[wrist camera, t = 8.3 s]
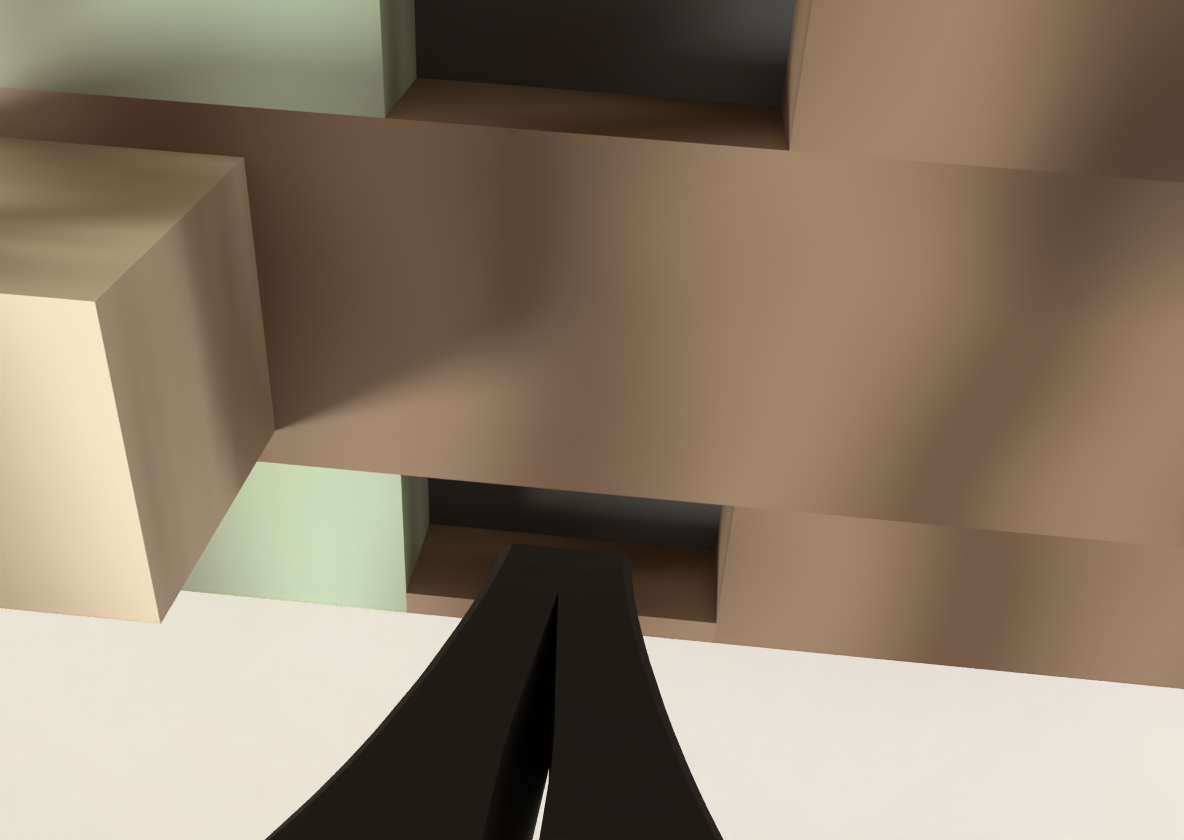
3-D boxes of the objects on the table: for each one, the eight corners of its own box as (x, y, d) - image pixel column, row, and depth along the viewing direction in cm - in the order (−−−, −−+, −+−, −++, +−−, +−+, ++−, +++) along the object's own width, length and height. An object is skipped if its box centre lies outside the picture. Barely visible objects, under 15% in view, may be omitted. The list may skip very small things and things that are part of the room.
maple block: (244, 157, 17) (95, 301, 13) (275, 430, 20) (160, 624, 16) (-74, 130, 17) (-323, 264, 13) (0, 405, 20) (-187, 589, 16)
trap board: (1533, -68, 16) (1656, -35, 14) (1215, 608, 23) (1266, 697, 21) (-161, -188, 17) (-280, -175, 15) (23, 494, 24) (-41, 568, 22)
